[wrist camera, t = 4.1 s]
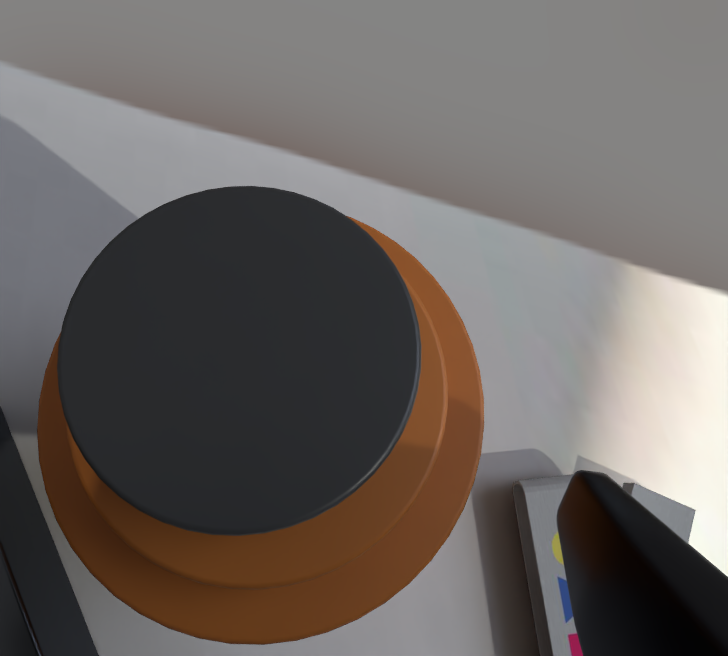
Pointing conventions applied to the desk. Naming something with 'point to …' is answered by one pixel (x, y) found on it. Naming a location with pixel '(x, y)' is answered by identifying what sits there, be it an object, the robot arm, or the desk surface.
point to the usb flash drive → (545, 556)
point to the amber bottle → (258, 417)
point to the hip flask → (32, 572)
